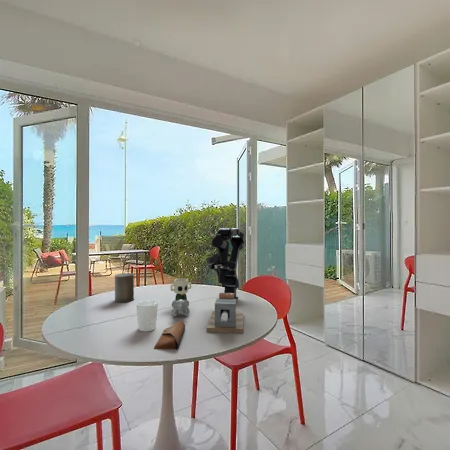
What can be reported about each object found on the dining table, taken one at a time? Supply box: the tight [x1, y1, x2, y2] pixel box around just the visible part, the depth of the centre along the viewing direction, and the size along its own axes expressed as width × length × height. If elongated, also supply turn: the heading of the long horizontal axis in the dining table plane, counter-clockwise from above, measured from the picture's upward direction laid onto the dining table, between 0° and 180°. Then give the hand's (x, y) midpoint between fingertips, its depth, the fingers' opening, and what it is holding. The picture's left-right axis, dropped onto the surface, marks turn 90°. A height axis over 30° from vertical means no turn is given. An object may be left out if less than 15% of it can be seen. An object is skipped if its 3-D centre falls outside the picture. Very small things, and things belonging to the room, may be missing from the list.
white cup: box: [136, 299, 158, 332], centre depth 110 cm, size 8×8×10 cm
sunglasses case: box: [153, 320, 186, 351], centre depth 100 cm, size 18×7×7 cm
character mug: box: [170, 278, 192, 301], centre depth 140 cm, size 11×7×13 cm, turn 119°
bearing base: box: [205, 298, 244, 334], centre depth 117 cm, size 21×14×10 cm, turn 176°
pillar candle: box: [114, 272, 135, 303], centre depth 150 cm, size 10×10×15 cm
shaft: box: [218, 292, 234, 323], centre depth 110 cm, size 17×6×10 cm, turn 176°
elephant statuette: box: [171, 299, 190, 318], centre depth 124 cm, size 9×12×8 cm
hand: (220, 283), depth 138 cm, fingers closed
